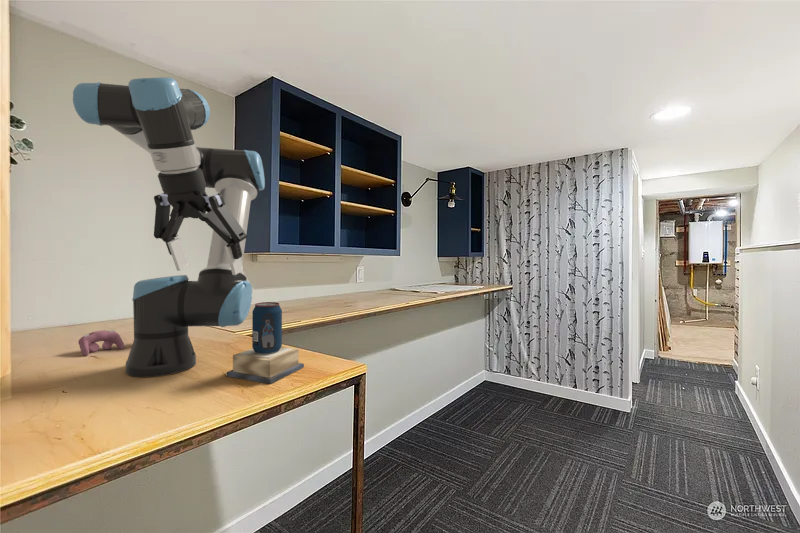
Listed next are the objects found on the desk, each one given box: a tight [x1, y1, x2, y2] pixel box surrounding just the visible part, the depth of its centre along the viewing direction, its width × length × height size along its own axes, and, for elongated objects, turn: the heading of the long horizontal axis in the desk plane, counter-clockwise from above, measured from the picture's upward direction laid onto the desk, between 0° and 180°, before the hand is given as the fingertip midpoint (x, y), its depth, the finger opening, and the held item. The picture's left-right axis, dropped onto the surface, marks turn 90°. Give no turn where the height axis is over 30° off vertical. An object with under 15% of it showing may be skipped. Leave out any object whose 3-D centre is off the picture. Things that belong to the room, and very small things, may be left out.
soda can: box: [251, 301, 283, 354], centre depth 94 cm, size 7×7×12 cm
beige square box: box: [226, 346, 305, 385], centre depth 94 cm, size 13×13×5 cm
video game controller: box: [78, 329, 125, 357], centre depth 109 cm, size 10×5×7 cm, turn 146°
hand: (210, 270), depth 80 cm, fingers open, 13 cm apart
